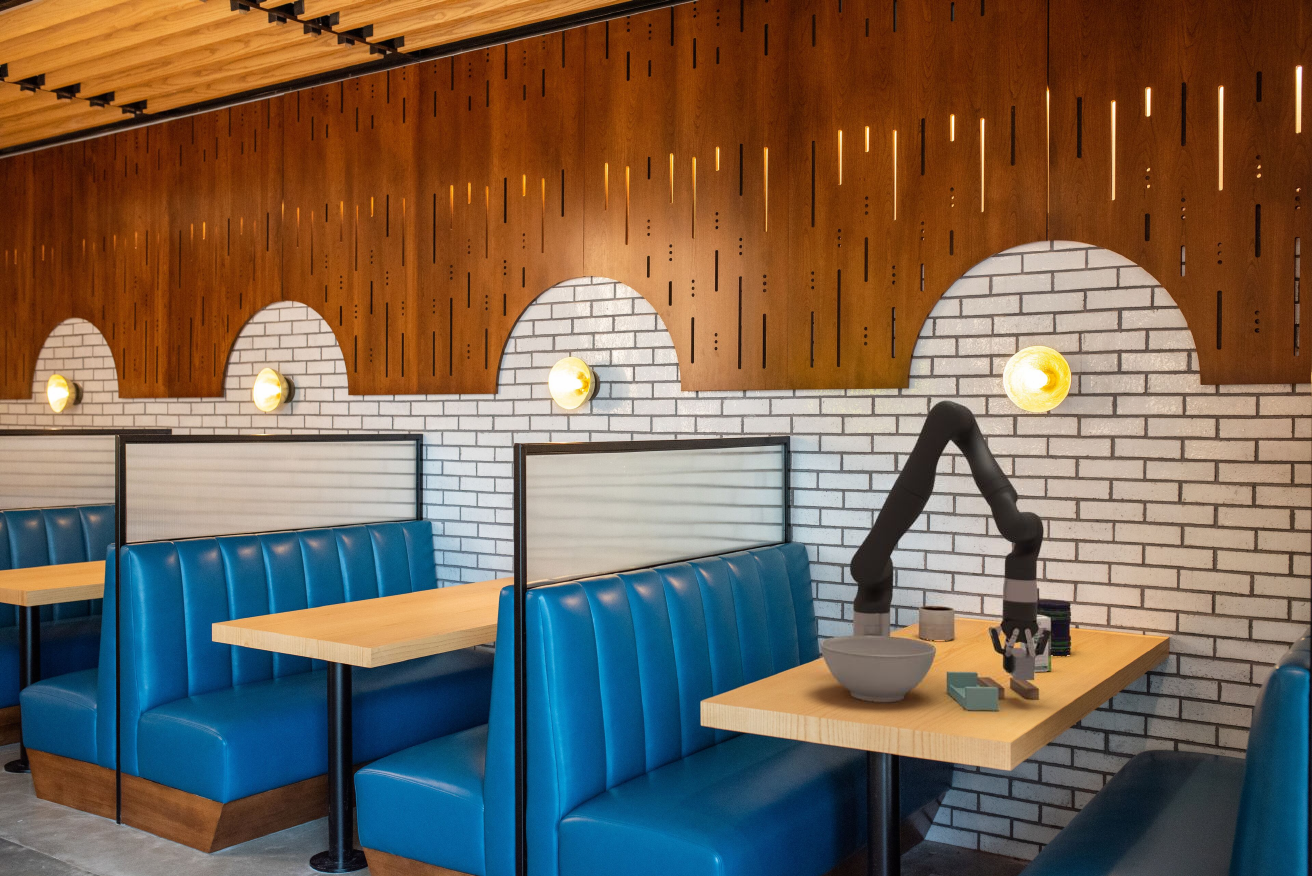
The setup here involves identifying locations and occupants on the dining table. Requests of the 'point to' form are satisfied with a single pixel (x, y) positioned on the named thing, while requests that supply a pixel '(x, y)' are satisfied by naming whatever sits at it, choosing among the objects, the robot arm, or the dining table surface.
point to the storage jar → (1057, 624)
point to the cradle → (971, 691)
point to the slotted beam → (1012, 687)
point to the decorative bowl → (878, 665)
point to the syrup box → (1045, 660)
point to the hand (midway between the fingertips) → (1018, 672)
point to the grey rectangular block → (1022, 665)
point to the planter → (936, 623)
